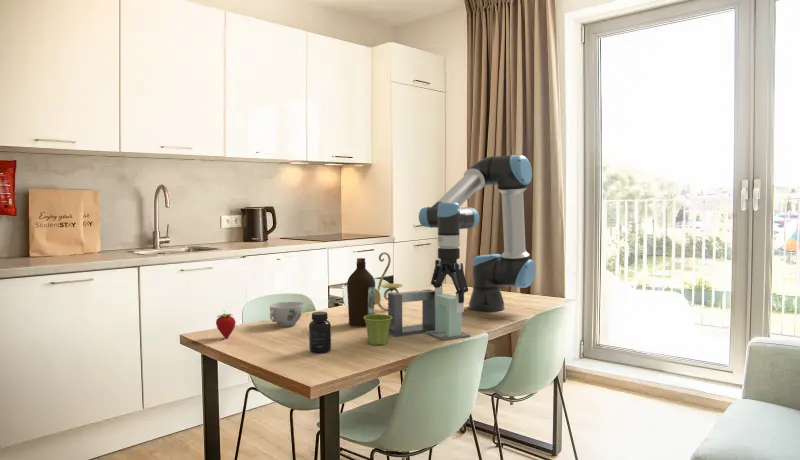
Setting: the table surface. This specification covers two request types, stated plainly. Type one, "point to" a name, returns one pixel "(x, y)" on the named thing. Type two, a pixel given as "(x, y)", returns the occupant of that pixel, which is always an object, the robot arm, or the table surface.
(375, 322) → the plant pot
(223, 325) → the strawberry
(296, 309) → the teacup
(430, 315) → the stand
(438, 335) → the gray rectangular panel
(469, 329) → the table surface
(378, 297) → the wall sconce
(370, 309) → the olive oil
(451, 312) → the mint green u-shaped block
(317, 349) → the supplement bottle
